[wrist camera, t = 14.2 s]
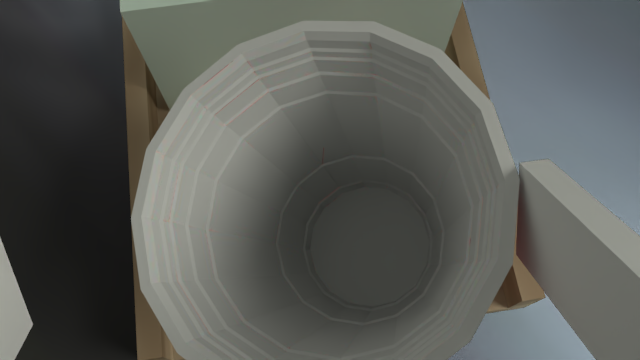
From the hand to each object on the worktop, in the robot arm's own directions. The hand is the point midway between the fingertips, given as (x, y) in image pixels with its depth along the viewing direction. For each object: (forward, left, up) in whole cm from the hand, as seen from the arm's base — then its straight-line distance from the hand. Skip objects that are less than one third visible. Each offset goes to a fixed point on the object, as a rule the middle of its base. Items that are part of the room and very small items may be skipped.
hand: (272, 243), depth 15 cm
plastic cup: (-4, -3, -12) cm, 13 cm away
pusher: (-2, -11, -12) cm, 16 cm away
